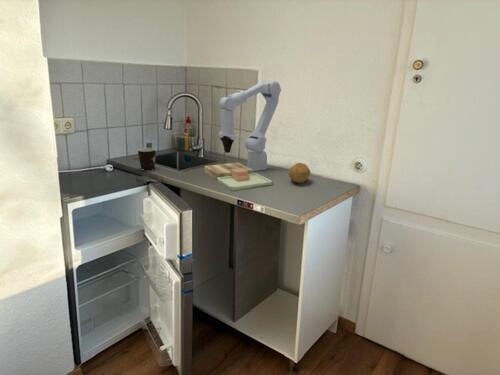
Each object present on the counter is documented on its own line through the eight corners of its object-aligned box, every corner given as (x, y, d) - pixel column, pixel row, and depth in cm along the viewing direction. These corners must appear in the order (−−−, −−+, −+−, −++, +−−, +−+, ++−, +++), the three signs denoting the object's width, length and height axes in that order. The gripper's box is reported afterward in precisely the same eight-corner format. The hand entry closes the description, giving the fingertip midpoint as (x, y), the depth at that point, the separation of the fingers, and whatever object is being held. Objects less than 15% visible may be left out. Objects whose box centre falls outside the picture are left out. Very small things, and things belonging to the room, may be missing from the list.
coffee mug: (149, 166, 196) (147, 147, 194) (160, 169, 192) (159, 149, 189) (130, 170, 187) (128, 150, 184) (141, 173, 183) (140, 153, 180)
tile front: (243, 176, 177) (243, 172, 176) (249, 180, 172) (249, 175, 171) (231, 178, 174) (231, 174, 174) (237, 181, 169) (237, 177, 169)
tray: (255, 176, 182) (255, 172, 181) (273, 184, 168) (273, 181, 168) (216, 181, 173) (216, 177, 172) (231, 190, 159) (231, 187, 159)
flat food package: (237, 168, 196) (237, 162, 195) (252, 175, 182) (252, 169, 181) (204, 172, 187) (204, 166, 186) (217, 180, 174) (217, 173, 173)
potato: (285, 185, 168) (286, 167, 166) (290, 177, 181) (291, 160, 179) (307, 187, 166) (308, 169, 163) (311, 178, 179) (312, 162, 176)
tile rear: (242, 172, 178) (242, 167, 177) (248, 175, 173) (248, 170, 172) (230, 173, 175) (230, 169, 174) (236, 176, 170) (236, 172, 169)
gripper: (213, 122, 183) (213, 150, 187) (226, 126, 171) (226, 156, 175) (226, 121, 186) (226, 149, 190) (240, 125, 174) (240, 154, 178)
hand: (227, 152), depth 182 cm, fingers closed
